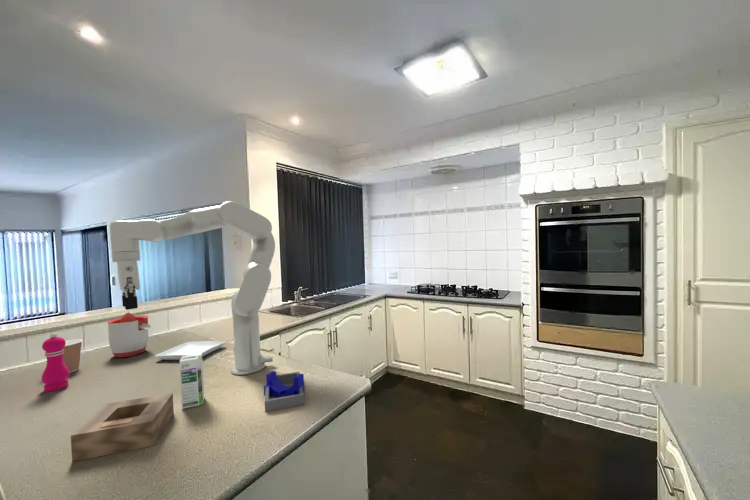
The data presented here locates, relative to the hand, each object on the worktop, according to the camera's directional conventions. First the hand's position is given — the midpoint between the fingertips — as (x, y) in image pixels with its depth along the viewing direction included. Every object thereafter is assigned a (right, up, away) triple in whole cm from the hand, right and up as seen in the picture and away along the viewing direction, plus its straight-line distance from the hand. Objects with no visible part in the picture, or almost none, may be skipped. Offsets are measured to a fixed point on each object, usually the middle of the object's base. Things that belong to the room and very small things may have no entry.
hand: (130, 307), depth 108 cm
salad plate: (-2, -30, +40) cm, 50 cm away
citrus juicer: (-34, -31, +45) cm, 64 cm away
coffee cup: (-45, -31, +25) cm, 60 cm away
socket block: (+19, -29, -25) cm, 43 cm away
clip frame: (+54, -27, -6) cm, 61 cm away
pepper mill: (-33, -31, +8) cm, 46 cm away
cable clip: (+54, -27, -6) cm, 61 cm away
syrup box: (+27, -28, -9) cm, 40 cm away
